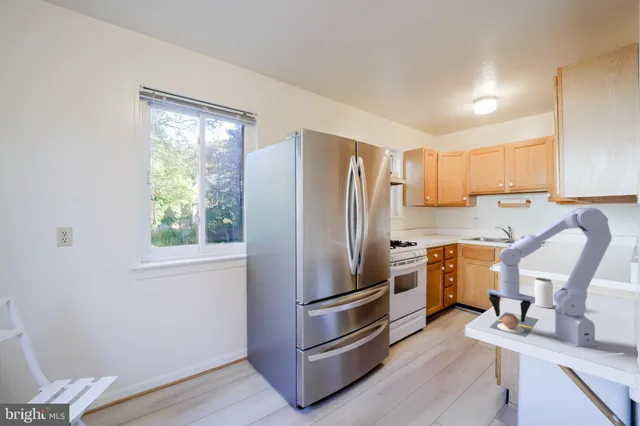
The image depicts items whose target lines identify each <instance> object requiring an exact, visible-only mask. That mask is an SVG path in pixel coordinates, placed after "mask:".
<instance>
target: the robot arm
mask: <svg viewBox="0 0 640 426" xmlns="http://www.w3.org/2000/svg"><path fill="white" fill-rule="evenodd" d="M570 229H580V230H581V231H582V233H583V234H584V235H585V237H586V238H587V239H586V242H585V244H584V246H583V248H582V250H581V252H580V254H579V256H578V258H577V260H576V261H575V265H574V266H573V268H572V271H571V272H570V275H569V277H568V279H567V281H566V282H564V283H563V284H562V286H561V287H560V289H558V290H557V291H555V293H553V300H554V301H555V303H556V304H557V306H556V307H555V308H554V316H555V317H554V319H555V320H554V322H555V323H554V327H555V328H554V329H555V330H554V331H555V332H554V331H553V332H548V335H550V336H552V337H554V338H557V339H558V340H560V341H562V342H565V343H567V344H569V345H571V346H573V347H589V346H591V347H592V346H598V343H596V328H595V324H594V322H593V321H592V320H591V319H589V318H588V317H586V316H585V312H586V309H587V305H586V300H587V298H588V288H589V286H590V284H591V282H592V280H593V278H594V276H595V274H596V272H597V270H598V268H599V266H600V264H601V261H602V260H603V258H604V256H605V253H606V252H607V250H608V248H609V246H610V243H611V241H612V239H613V238H612V233H611V230H610V226H609V218H608V217H607V215H605V214H604V213H603V211H602V210H601V209H599V208H596V207H579V208H575V209H574V210H572V211H570V212H568V213H566V214H563V215H562V216H561V217H558V218H557V219H556V220H555V221H552V222H551V223H550V224H548V225H547V226H545V227H544V228H542V229H540V230H539V231H538V232H536V233H534V234H526V235H524V234H523V235H520V237H519V238H520V239H518V240H516V241H515V242H513V243H512V244H511V243H509V244H508V245H507V246H508V247H504V248H503V249H501V250H500V252H499V255H498V257H499V259H500V260H501V261H500V263H499V264H500V265H499V266H500V268H499V269H500V270H499V276H500V278H499V280H500V281H499V283H500V284H499V285H500V289H491V288H487V289H486V296H489V297H488V298H489V301H490V302H491V305H492V307H493V309H494V313H495V317H497V318H499V317H501V316H500V315H501V307H500V305H501V304H500V303H501V302H500V301H501V298H504V299H510V300H514V301H519V302H520V304H519V305H520V315H521V322H524V321H525V317H527V313H528V311H529V308H530V307H531V305H532V304H533V305H535V297H534V296H532V295H529V294H528V295H527V294H525V293H524V294H523V293H520V269H519V264H520V262H521V260H522V259H524V258H526V257H528V256H530V255H531V254H533V253H534V252H536V251H538V250H539V249H541V248H542V243H543V242H545V241H546V240H548V239H550V238H552V237H554V236H555V235H557V234H559V233H561V232H562V231H564V230H570Z"/></svg>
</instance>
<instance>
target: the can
mask: <svg viewBox="0 0 640 426" xmlns="http://www.w3.org/2000/svg"><path fill="white" fill-rule="evenodd" d="M534 279H535V280H534V283H533V286H534V287H533V288H534V289H533V293H534V294H533V295H534V296H533V297H535V303H534V305H535V306H536V307H538V308H540V309H541V308H542V309H552V308H554V292H553V291H554V290H553V289H554V287H553V285H554V284H553V282H552V280H551V279H549V278H544V277H536V278H534Z"/></svg>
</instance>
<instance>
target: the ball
mask: <svg viewBox="0 0 640 426" xmlns="http://www.w3.org/2000/svg"><path fill="white" fill-rule="evenodd" d="M513 314H514V313H512V314H505V315H504V316H503V317H502V322H503V324H504V325H505V326H506V327H508V328H515V327H517V326H518V323H519V321H518V319H517V317H516V316H515V315H513Z"/></svg>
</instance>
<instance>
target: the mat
mask: <svg viewBox="0 0 640 426" xmlns="http://www.w3.org/2000/svg"><path fill="white" fill-rule="evenodd" d="M505 314H513V315H515V316H516V317H517V319H518V321H519V323H518V326H519V327H521V328H523V329H524V332H522V333H512V332H507V331H504V330H501V329H499V328H498V327H497V325H498V324H500V323H503V322H502V317H503V316H504V315H505ZM538 321H539V318H536V317H535V318H534V317H529V316H526V317H525V321H524V322H521V314H516V313H512V312H507V311H505V312H504V313H503V314H502V315H501V316H499V317H498V319H496V321H494V322H493V323H492V324H491V325H490V326H489V329H493V330H497V331H501V332H505V333H509V334H513V335H517V336H520V337H524V338H527V336H528V335H529V333H530V332H531V330H532V329H533V328H534V326H535V325H536V323H537V322H538Z"/></svg>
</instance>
